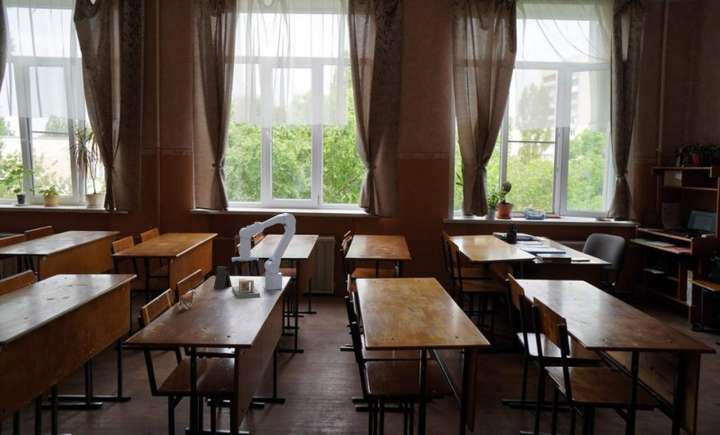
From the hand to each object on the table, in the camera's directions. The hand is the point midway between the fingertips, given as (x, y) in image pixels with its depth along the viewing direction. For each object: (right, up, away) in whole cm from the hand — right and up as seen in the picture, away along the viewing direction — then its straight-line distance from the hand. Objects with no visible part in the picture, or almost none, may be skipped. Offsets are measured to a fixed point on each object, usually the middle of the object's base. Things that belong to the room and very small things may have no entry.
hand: (245, 273), depth 324 cm
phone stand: (-14, -9, +7) cm, 18 cm away
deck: (+2, -10, -7) cm, 12 cm away
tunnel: (+2, -8, -9) cm, 12 cm away
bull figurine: (-20, -13, -39) cm, 46 cm away
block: (0, -8, -1) cm, 8 cm away
